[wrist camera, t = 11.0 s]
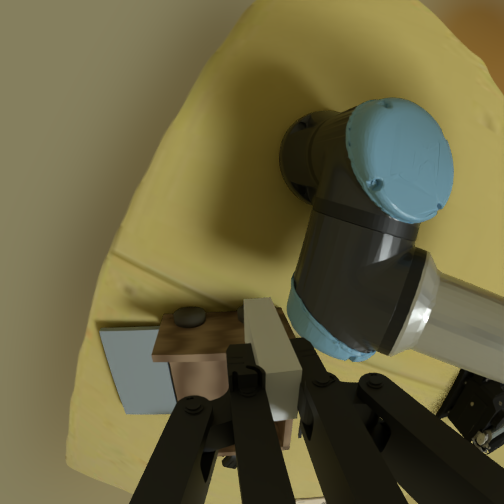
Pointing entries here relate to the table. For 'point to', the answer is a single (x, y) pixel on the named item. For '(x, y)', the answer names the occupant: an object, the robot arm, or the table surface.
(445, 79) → the table surface
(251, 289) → the table surface
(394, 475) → the robot arm
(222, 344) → the box
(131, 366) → the panel
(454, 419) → the typewriter
